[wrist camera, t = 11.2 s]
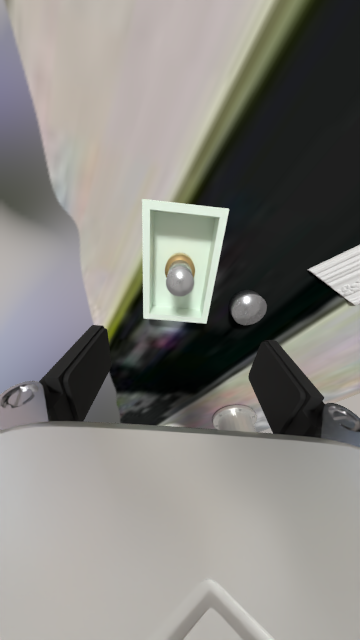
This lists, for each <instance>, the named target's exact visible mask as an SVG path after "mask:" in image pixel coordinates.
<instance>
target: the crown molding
mask: <svg viewBox="0 0 360 640" xmlns="http://www.w3.org/2000/svg"><path fill="white" fill-rule="evenodd" d="M308 270H309V271H310V272H311V273H313V274H314V275H315V276H317V277H318V278H319V279H321V280H322V281H323V282H325V283H326V284H327V285H328V286H330V287H331V288H332V289H334V290H335V291H336V292H338V293H339V294H340V295H341V296H343V297H344V298H345V299H347V300H348V301H349V302H351V303H352V304H353V305H358V304H360V245H358V246H356V247H354V248H352V249H350V250H348V251H346V252H344V253H341V254H339V255H337V256H335V257H333V258H331V259H329V260H327V261H325V262H322V263H320V264H318V265H316V266H314V267H312V268H310V269H308Z"/></svg>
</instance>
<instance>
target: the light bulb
mask: <svg viewBox="0 0 360 640" xmlns="http://www.w3.org/2000/svg"><path fill="white" fill-rule="evenodd" d="M165 275H166V278H167V279H166V286H167V289H168V291H169V292H170V293H171V294H173V295H175V296H185V295H187V294H189V293H190V292H191V291H192V289H193V286H194V279H193V278H194V275H195V266H194V263H193V261H192V259H191V258H190V256H188V255H187V254H185V253H175V254H173V255H172V256H170V258H169V259H168V261H167V263H166V266H165Z"/></svg>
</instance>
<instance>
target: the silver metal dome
mask: <svg viewBox="0 0 360 640" xmlns="http://www.w3.org/2000/svg"><path fill="white" fill-rule="evenodd" d="M266 308H267V306H266V302H265V300H264V299H263V298H262V297H261V296H260V295H259V294H257V293H256V292H255V291H252V290H243V291H240V292H238V293H236V294H235V295H234V296H233V297H232V299H231V300H230V303H229V311H230V313H231V315H232V317H233V318H234V320H235V321H236V322H237V323H239V324H242V325H251V324H254V323H256V322H258V321H259V320H260V319H261V318H262V317H263V316H264V314H265V312H266Z"/></svg>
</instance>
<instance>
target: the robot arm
mask: <svg viewBox="0 0 360 640" xmlns="http://www.w3.org/2000/svg"><path fill="white" fill-rule="evenodd" d="M110 368H111V358H110V349H109V341H108V333H107V329H104V326H98V325H92V326H91V327H90V328H89V329H88V330H87V331H86V332H85V333H84V335H82V337H81V338H80V339H79V340H78V341H77V342H76V343H75V344H74V345H73V346H72V347H71V348H70V350H68V351H67V352H66V354H65V355H64V356H63V357H62V358H61V359H60V360H59V361H58V362H57V363H56V364H55V365H54V366H53V367H52V369H50V371H49V372H48V373H47V374H46V375H45V376H44V377H43V378H42V379H41V380H40V381H39V382H36V381H27V382H23V383H20V384H17V385H15V386H12V387H11V388H9V389H7V390H6V391H5V392H3V393H2V394H1V395H0V640H360V418H359V417H358V416H357V415H355V414H354V413H353V412H351V411H350V410H348V409H347V408H345V407H343V406H341V405H338V404H334V403H327V404H324V403H323V401H322V400H323V399H324V397H323V396H322V394H321V393H320V392H319V391H318V390H317V388H316V387H315V386H314V385H313V384H312V383H311V381H310V380H309V379H308V378H307V377H306V375H305V374H304V373H303V372H302V371H301V370H300V368H299V367H298V366H297V365H296V364H295V363H294V361H293V360H292V359H291V358H290V357H289V355H288V354H287V353H286V352H285V351H284V350H283V348H282V347H281V346H280V345H279V344H278V342H277V341H272V340H265V341H264V342H262V343H261V344H260V347H259V349H258V352H257V355H256V357H255V360H254V362H253V365H252V368H251V370H250V373H249V381H250V383H251V385H252V387H253V389H254V392H255V394H256V396H257V398H258V401H259V403H260V405H261V407H262V410H263V412H264V414H265V416H266V419H267V421H268V423H269V425H270V427H271V430H272V432H273V434H271V433H257V432H256V429H255V427H254V424H255V423H256V421H257V416H256V414H255V412H254V410H253V409H251V408H249V407H247V406H243V405H231V406H227V407H224V408H222V409H220V410H218V411H217V412H216V413H215V414H214V416H213V425H214V427H215V428H216V429H218V430H215V429H200V428H185V427H170V426H154V425H137V424H121V423H102V422H83V420H84V419H85V417H86V415H87V413H88V411H89V409H90V407H91V405H92V403H93V401H94V399H95V397H96V396H97V394H98V391H99V390H100V388H101V386H102V384H103V382H104V380H105V378H106V376H107V374H108V372H109V370H110Z"/></svg>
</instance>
